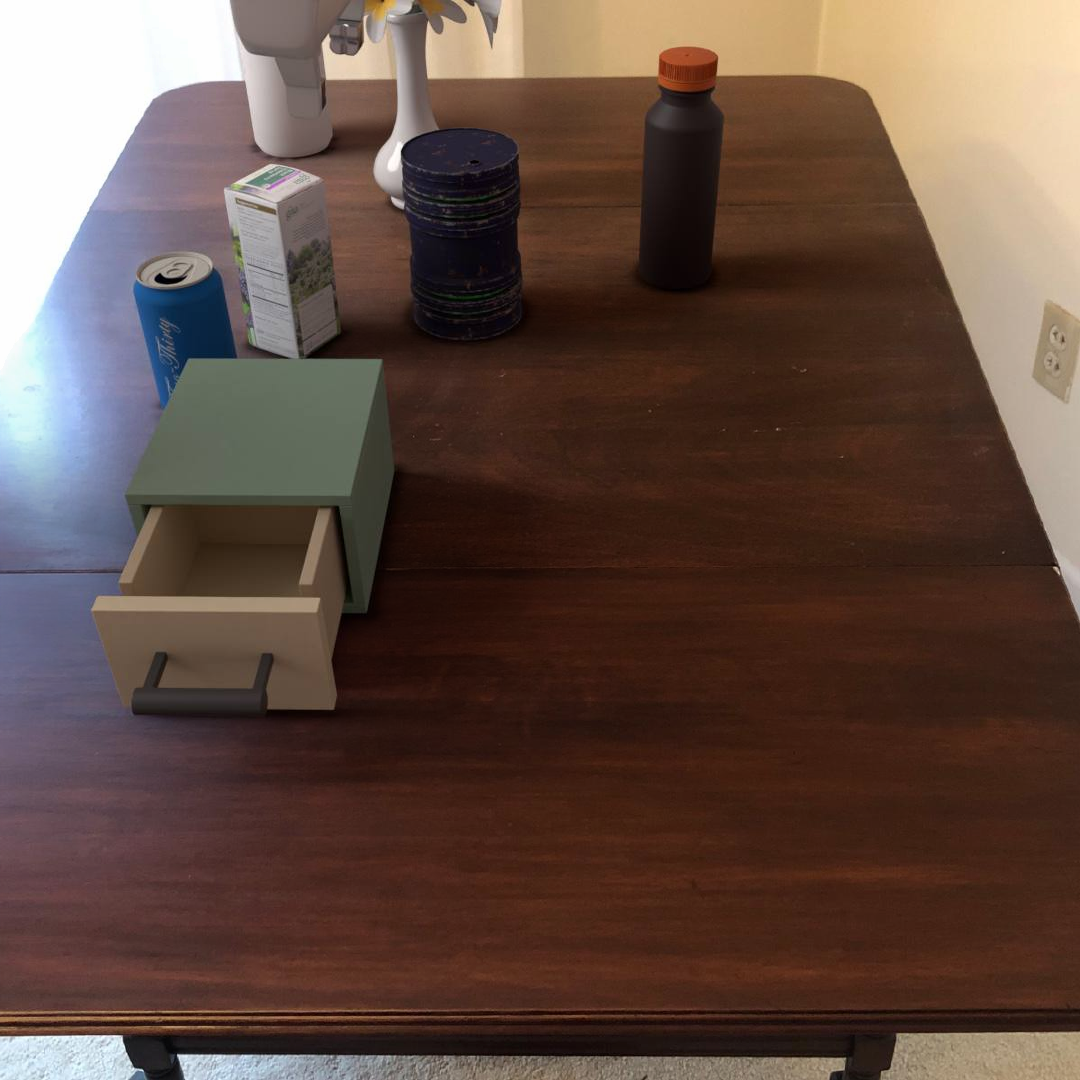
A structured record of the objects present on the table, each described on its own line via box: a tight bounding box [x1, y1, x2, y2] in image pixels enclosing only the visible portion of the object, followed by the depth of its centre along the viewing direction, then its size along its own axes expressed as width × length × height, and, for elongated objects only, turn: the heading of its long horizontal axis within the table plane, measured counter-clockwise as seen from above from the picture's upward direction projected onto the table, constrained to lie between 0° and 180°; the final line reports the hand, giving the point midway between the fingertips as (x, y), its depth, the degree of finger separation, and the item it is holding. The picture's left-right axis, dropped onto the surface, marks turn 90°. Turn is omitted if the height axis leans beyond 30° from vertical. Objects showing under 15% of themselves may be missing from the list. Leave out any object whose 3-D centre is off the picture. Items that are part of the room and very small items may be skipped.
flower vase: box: [364, 0, 502, 211], centre depth 120 cm, size 13×18×25 cm
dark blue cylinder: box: [401, 127, 524, 341], centre depth 104 cm, size 10×10×15 cm
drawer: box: [90, 505, 349, 718], centre depth 73 cm, size 19×12×8 cm, turn 179°
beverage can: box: [132, 251, 238, 411], centre depth 94 cm, size 6×6×12 cm
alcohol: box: [237, 35, 334, 158], centre depth 130 cm, size 9×9×30 cm
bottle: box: [637, 45, 725, 291], centre depth 108 cm, size 7×7×20 cm
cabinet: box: [124, 358, 395, 614], centre depth 82 cm, size 16×14×10 cm
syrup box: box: [223, 163, 342, 359], centre depth 101 cm, size 6×6×14 cm
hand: (328, 80), depth 70 cm, fingers open, 8 cm apart
